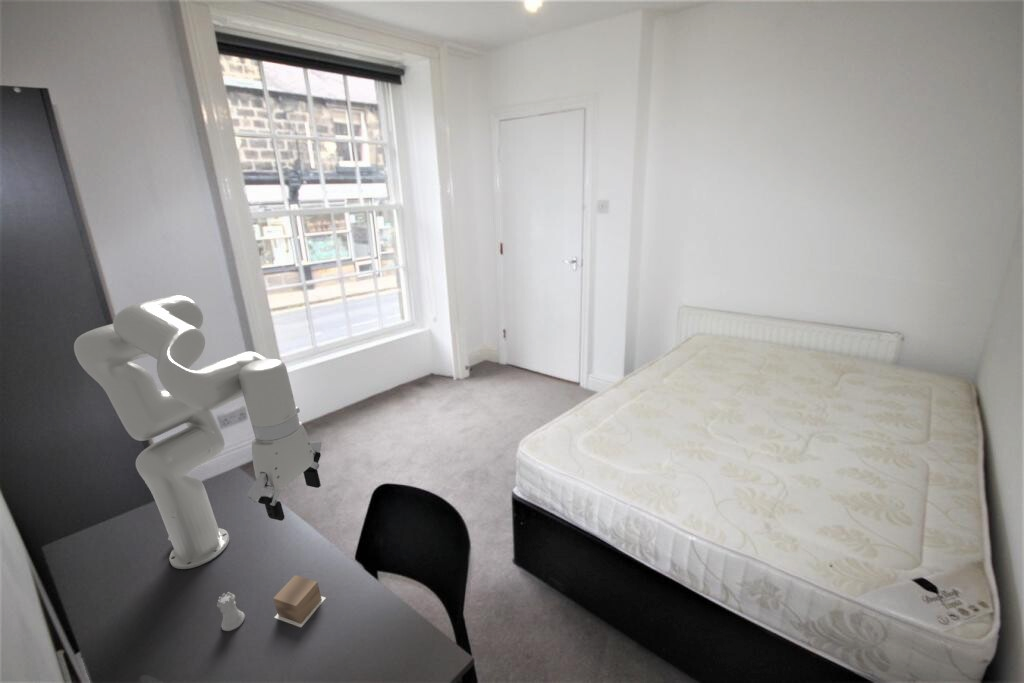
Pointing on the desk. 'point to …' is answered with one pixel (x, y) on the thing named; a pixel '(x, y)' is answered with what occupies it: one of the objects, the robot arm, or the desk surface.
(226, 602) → the rook chess piece
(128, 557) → the desk surface
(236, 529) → the desk surface
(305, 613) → the walnut block
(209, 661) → the desk surface
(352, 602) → the desk surface
